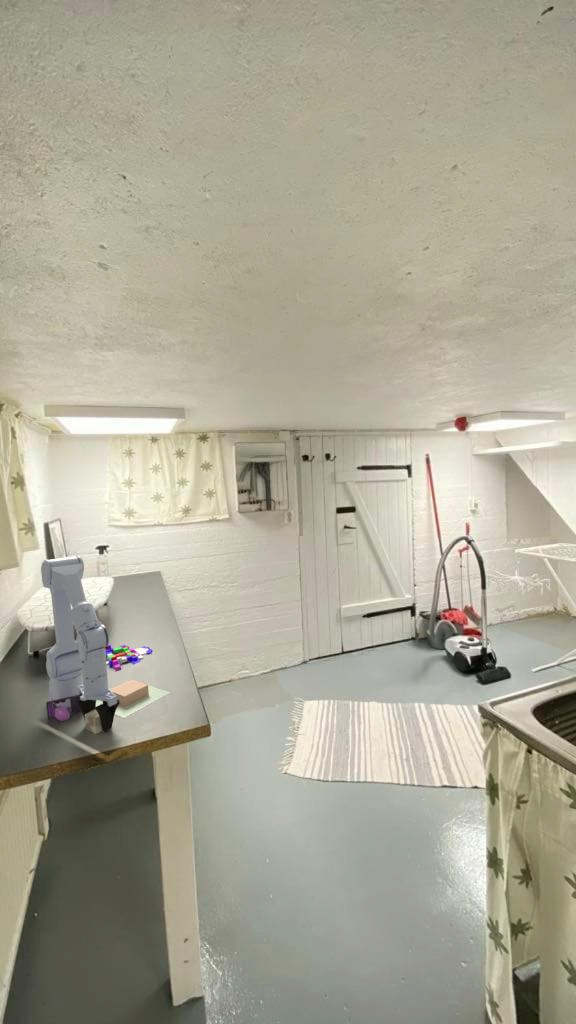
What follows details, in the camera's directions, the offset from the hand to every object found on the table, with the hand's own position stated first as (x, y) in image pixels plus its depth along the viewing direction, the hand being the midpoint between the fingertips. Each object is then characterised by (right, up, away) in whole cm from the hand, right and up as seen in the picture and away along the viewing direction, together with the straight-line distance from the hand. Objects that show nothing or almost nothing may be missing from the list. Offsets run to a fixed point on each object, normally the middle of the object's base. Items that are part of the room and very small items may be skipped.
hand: (98, 725), depth 108 cm
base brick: (+2, 0, +16) cm, 16 cm away
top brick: (0, -2, 0) cm, 2 cm away
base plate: (+2, -1, +16) cm, 16 cm away
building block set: (-14, -1, +51) cm, 53 cm away
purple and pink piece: (-12, -2, +6) cm, 13 cm away
